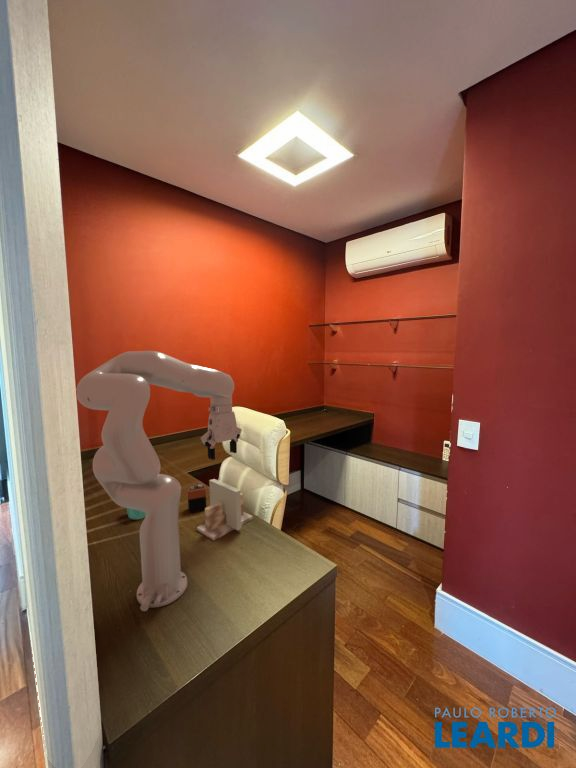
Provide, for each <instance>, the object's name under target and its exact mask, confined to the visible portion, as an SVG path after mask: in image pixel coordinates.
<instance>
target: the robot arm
mask: <svg viewBox="0 0 576 768" xmlns="http://www.w3.org/2000/svg"><path fill="white" fill-rule="evenodd" d="M150 385H152V386H157V387H160V388H161V387H162V388H165V389H168V390H173V391H176V392H181V393H189V394H191V393H192V394H193V395H194V396H196V397H198V398H210V407H207V408H208V409H207V410H208V412H210V413H209V415H208V421H207V431H206V432H205V433H204V434H203V435H202V436H201V437H200V440H201V443H202V445H204V446H205V447H206V448H207V457H208V459H209V460H211V461H212V460H213V461H214V460H216V450H215V449H216V448H215V445H216V444H217V443H222V442H223V443H224V442H227V441H229V453H233V454H237V451H238V450H237V449H238V447H237V446H238V445H237V444H238V441H239V438H240V437H241V433H242V431H243V430H242V428H240V427H238V425H237V424H238V423H237V418H236V412H235V411H233V393H234V391H235V382H234V380H233V378H232V376H231V375H230V374H227V373H225V372H223V371H220V370H217V369H214V368H208V367H205V366H200V365H196V364H192V363H189V362H188V363H187V362H185V361H183V360H180V359H178V358H175V357H173V356H170V355H168V354H166V353H164V352H160V351H156V350H136V351H135V350H131V351H125V352H122V353H120V354H118V355H117V356H115V357H113V358H111V359H109V360H108V361H106V362H104V363H103V364H101V365H99V366H98V367H96V368H94V369H93V370H92V371H90V372H88V373H87V374H85V375H84V376H83V377H82V378H80V380H79V381H78V384H77V386H76V389H75V390H76V391H77V395H76V399H77V401H78V402H79V403H80V404H81V405H82V406H83V407H84V408H87V409H90V410H97V411H108V414H107V416H106V418H105V421H104V424H103V426H102V430H101V435H100V437H101V441H102V444H103V445H102V446H101V447H99V449H97V451H96V452H95V453H94V457H93V459H92V472H93V475H94V476H95V478H96V480H97V481H98V482H99V484H100V485H101V487H102V489H104V491H105V492H106V493H107V495H108V496H109V497H110V499H111V500H112V502H114V503H115V504H116V505H117V506H119V507H121V508H123V509H126V508H128V509H134V510H139V511H143V512H145V513H146V517H145V518H143V521H142V522H141V524H140V527H139V549H140V562H141V563H140V565H141V580H142V582H141V583H140V584H139V585H138V588H137V590H136V600H137V602H138V603H139V604H140V607H139V609H140V610H141V611H142V612H146V611H148V610H149V608H160V607H164V606H166V605H167V606H168V605H169V604H171V603H174V602H175V601H176V600H177V599H179V598H180V597H181V596H182V595H183V594H184V593H185V591H186V589H187V587H188V578H187V577H188V576H187V575H186V574H185V573H184V572H183V571H182V570H181V567H182V566H181V549H180V530H179V529H180V528H179V511H180V510H179V509H180V508H179V507H180V501H181V495H182V487H181V484H180V482H179V480H178V479H176V478H175V477H173V476H171V475H168V474H163V473H160V472H161V461H160V458H159V456H158V454H157V453H156V451H155V448H154V447H153V445H152V443H151V441H150V440H149V437H148V436H147V434H146V432H145V430H144V426H143V421H144V416H145V412H146V409H147V407H148V404H149V402H150V398H151V387H150ZM76 391H75V392H76Z"/></svg>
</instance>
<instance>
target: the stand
mask: <svg viewBox="0 0 576 768" xmlns="http://www.w3.org/2000/svg"><path fill="white" fill-rule="evenodd" d="M204 517H205V518H204V520H205V522H204V523H203V524H201V525H198V526H196V531H197V532H199V533H201V534H202V535H204V536H205V537H207V538H208V539H210V540H211V541H216V540H217V539H219V538H221V537H223V536H225V535H227V534H228V533H231V532H233V531H234V530H235V529H234V528H232V527H230V526H228V525H227V522H226V514H225V513H223V512H222V503H220V502H217V503H215V504H213V505H211V506H210V505H208V506H206V508H205V510H204ZM252 520H254V516H253V515H251V514H249V513H247V512H245V510H244V493H242V492H241V526H243V525H245V524H246V523H248V522H250V521H252Z"/></svg>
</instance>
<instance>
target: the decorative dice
mask: <svg viewBox="0 0 576 768" xmlns="http://www.w3.org/2000/svg"><path fill="white" fill-rule="evenodd" d="M125 509H126V513H127V516H128V518H129V519H130V520H135V521H137V520H144V519H145V517H146V513H145V512H143V511H139V510H134V509H128V508H125Z"/></svg>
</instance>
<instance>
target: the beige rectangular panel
mask: <svg viewBox="0 0 576 768" xmlns="http://www.w3.org/2000/svg"><path fill="white" fill-rule="evenodd" d="M208 482H209V483H208V484H209V504H210V505H209V506H211V505H213V504H215V503H217V502H220V503H222V512H223V513H225V514H226V522H227V525H228V526H230V527H232V528H234V530H236V531H239V530H241V529H242V525H241V493H242V492H241V489H239V488H236V487H234V486H232V485H230V484H227V483H225V482H222V481H220V480H218V479H215V478H213V479H209V480H208Z"/></svg>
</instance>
